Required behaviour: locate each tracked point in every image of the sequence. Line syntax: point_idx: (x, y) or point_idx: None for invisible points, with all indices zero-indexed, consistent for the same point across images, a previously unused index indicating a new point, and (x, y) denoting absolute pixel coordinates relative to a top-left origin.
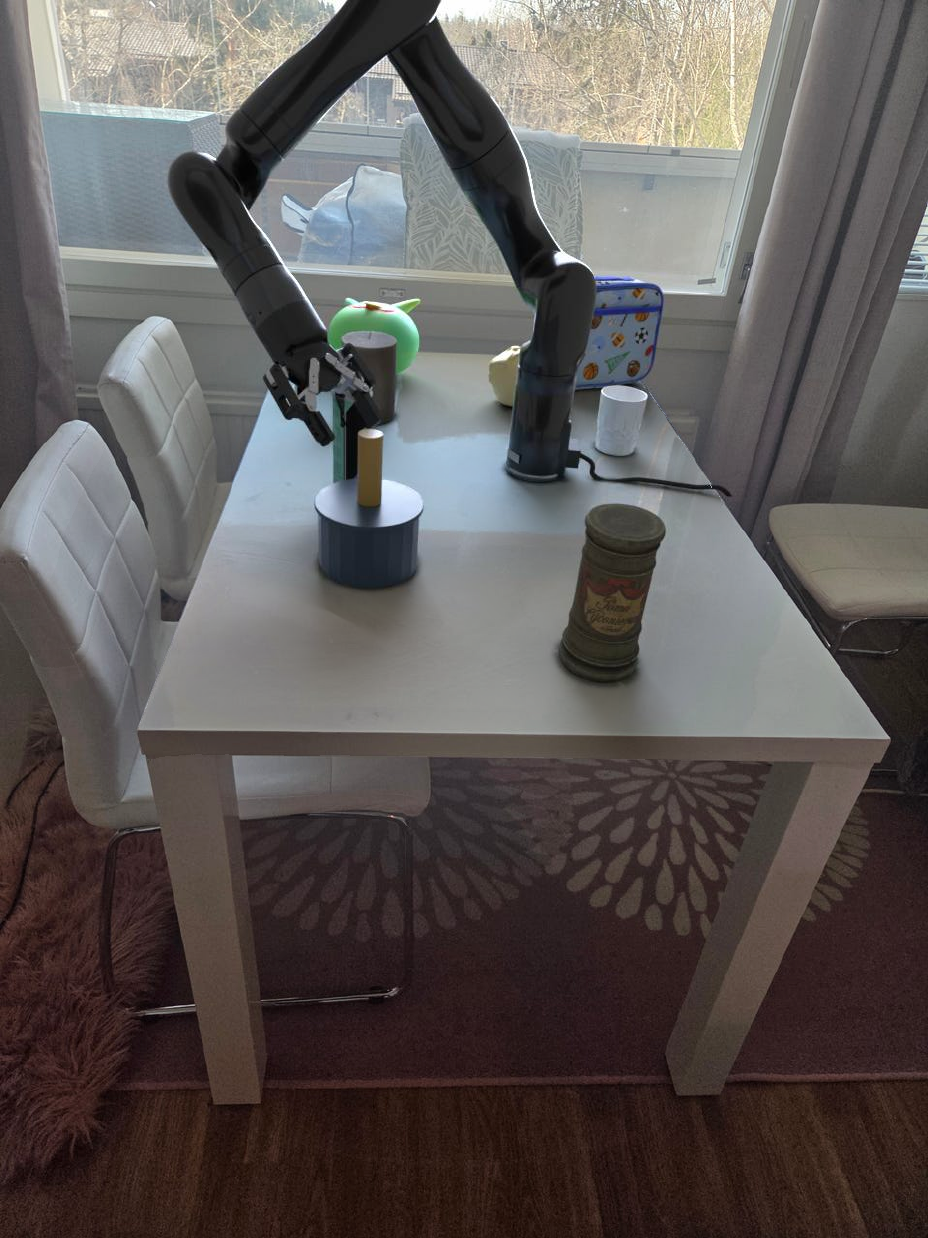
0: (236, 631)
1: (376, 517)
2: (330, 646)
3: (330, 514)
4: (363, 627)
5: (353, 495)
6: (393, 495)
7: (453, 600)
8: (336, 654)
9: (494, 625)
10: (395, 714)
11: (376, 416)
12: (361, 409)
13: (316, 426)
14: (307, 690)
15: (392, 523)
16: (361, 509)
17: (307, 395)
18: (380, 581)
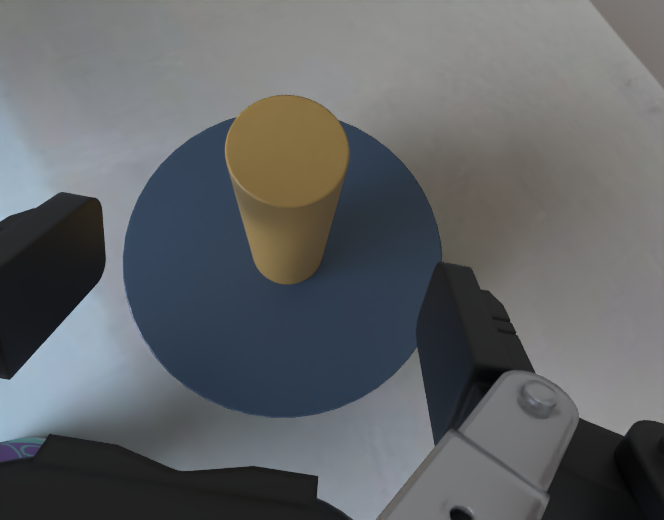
0: (622, 367)
1: (360, 189)
2: (553, 209)
3: (419, 299)
4: (478, 190)
5: (279, 309)
6: (215, 211)
7: (318, 100)
8: (563, 190)
9: (349, 22)
10: (612, 63)
11: (87, 204)
12: (44, 316)
13: (515, 336)
14: (653, 182)
15: (365, 142)
16: (344, 244)
17: (546, 480)
18: None
